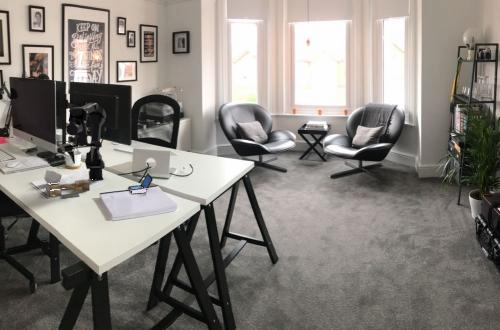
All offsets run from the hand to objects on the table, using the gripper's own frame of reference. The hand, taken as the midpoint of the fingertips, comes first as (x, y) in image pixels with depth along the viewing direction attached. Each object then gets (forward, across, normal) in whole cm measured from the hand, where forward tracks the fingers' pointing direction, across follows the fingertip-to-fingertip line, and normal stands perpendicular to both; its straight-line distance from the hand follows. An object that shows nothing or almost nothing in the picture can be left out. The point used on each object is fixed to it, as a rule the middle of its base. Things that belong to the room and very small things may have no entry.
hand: (83, 162), depth 222 cm
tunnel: (+13, +11, +2) cm, 18 cm away
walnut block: (+14, +3, +4) cm, 14 cm away
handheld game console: (+14, -20, +22) cm, 33 cm away
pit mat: (+13, +11, +11) cm, 20 cm away
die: (+14, +11, -16) cm, 24 cm away
